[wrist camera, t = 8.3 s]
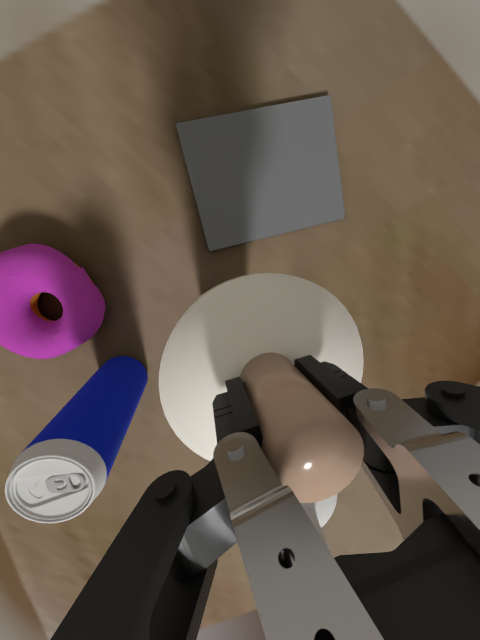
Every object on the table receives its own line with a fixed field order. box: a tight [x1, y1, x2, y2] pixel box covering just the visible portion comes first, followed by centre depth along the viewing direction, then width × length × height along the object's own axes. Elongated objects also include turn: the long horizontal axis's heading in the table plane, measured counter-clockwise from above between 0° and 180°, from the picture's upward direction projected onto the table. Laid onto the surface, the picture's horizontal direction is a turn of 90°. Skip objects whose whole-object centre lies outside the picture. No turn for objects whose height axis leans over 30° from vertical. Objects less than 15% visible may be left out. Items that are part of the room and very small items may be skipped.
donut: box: [0, 244, 106, 359], centre depth 23 cm, size 10×10×5 cm
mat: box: [176, 95, 345, 252], centre depth 26 cm, size 16×12×1 cm
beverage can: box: [5, 356, 148, 523], centre depth 21 cm, size 5×5×15 cm
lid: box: [159, 273, 364, 503], centre depth 10 cm, size 10×10×6 cm
